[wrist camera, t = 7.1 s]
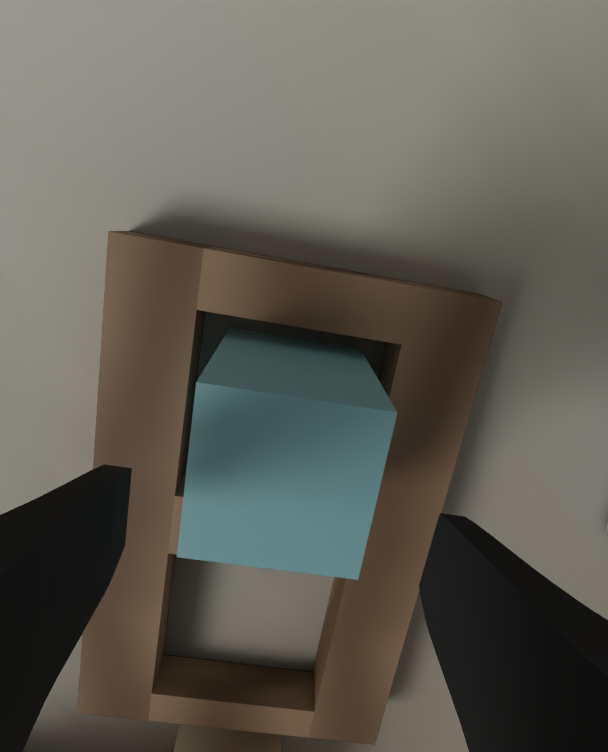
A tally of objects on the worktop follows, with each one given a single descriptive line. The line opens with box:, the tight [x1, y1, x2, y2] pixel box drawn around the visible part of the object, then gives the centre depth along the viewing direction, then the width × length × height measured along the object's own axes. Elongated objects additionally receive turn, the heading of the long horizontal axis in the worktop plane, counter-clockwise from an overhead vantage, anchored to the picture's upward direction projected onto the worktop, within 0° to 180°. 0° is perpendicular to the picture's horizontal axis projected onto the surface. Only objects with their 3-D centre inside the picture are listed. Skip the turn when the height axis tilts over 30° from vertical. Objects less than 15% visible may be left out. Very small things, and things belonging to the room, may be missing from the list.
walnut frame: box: [77, 231, 502, 745], centre depth 20 cm, size 13×20×2 cm, turn 170°
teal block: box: [177, 327, 397, 580], centre depth 16 cm, size 5×5×7 cm
